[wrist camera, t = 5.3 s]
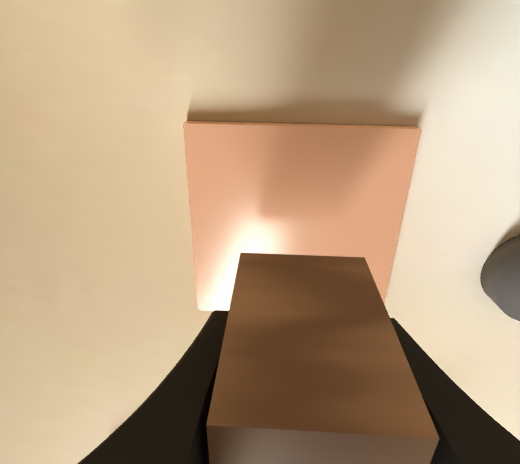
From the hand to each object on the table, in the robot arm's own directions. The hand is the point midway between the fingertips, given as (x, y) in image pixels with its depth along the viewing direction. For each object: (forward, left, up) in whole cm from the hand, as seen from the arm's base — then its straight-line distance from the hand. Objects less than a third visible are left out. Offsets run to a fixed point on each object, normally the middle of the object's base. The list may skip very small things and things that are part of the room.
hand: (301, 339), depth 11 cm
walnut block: (0, 0, -2) cm, 2 cm away
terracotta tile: (0, 0, -8) cm, 8 cm away
